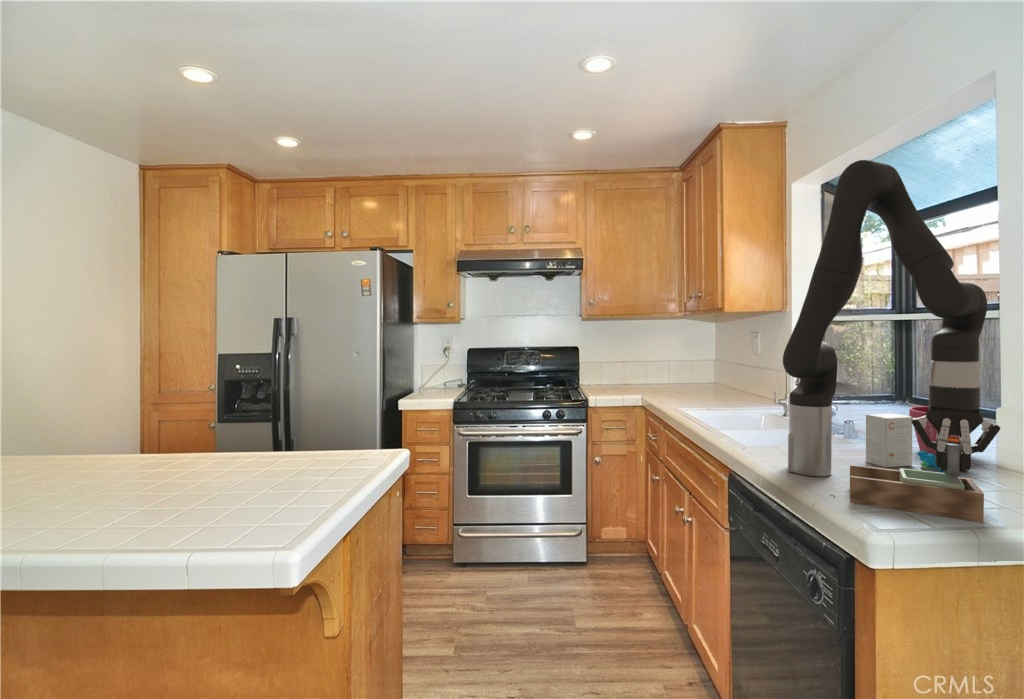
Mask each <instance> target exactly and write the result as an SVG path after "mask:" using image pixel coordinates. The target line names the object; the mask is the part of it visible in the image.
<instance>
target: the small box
mask: <svg viewBox="0 0 1024 699" xmlns="http://www.w3.org/2000/svg"><path fill="white" fill-rule="evenodd" d="M911 419H912V417H910V416H909V415H904V414H900V413H899V414H898V413H870V414H865V462H866V463H869V464H872V465H875V466H878V467H881V468H882V467H883V468H885V469H888V468H895V467H896V468H897V467H898V468H900V467H910V466H913V424H912V423H911Z"/></svg>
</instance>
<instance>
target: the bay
mask: <svg viewBox="0 0 1024 699" xmlns="http://www.w3.org/2000/svg"><path fill="white" fill-rule="evenodd" d="M959 478H960V480H961V481H962V482H963V484H964V485H965V490H961V489H953V488H945V487H937V486H929V485H921V484H913V483H905V482H899V469H893V468H892V469H891V468H885V467H883V468H882V467H875V466H866V465H857V464H849V501H850V503H851V504H859V505H864V506H871V507H879V508H884V509H885V508H886V509H893V510H899V511H903V512H904V511H906V512H913V513H919V514H924V513H926V514H925V515H931V514H933V515H932V516H937V515H938V517H946V518H952V519H957V520H958V519H959V520H965V521H970V522H971V521H972V522H977V523H978V522H979V523H984V516H985V515H984V512H985V493H984V492H983V490H981V489H980V487H979V486H978V485H977V483H976V482H975V481H974V479H972V478H971V477H970V478H969V477H964V476H962V477H959Z"/></svg>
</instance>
